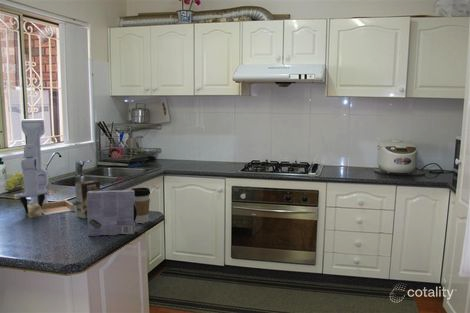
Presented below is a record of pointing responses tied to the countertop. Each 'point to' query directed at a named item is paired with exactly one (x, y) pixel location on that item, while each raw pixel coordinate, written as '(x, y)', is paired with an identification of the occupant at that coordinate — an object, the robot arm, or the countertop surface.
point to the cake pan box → (111, 212)
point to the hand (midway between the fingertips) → (33, 211)
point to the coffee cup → (142, 204)
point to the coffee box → (84, 195)
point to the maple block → (34, 210)
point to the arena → (57, 207)
